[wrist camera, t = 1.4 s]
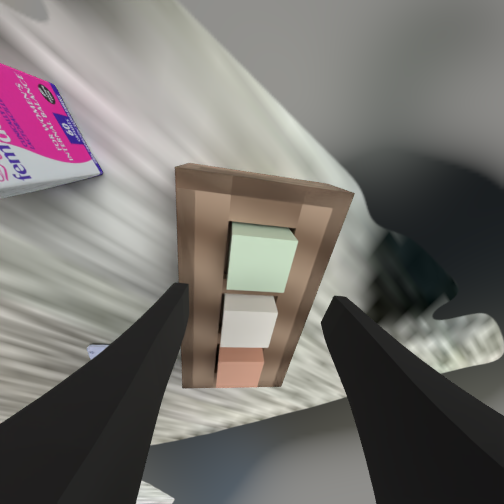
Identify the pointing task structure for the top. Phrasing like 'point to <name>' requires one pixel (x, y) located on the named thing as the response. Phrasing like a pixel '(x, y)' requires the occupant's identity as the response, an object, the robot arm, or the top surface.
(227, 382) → the terracotta key
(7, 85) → the supplement box
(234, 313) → the cream key
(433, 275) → the top surface
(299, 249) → the frame
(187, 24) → the top surface
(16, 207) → the top surface
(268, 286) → the sage key
